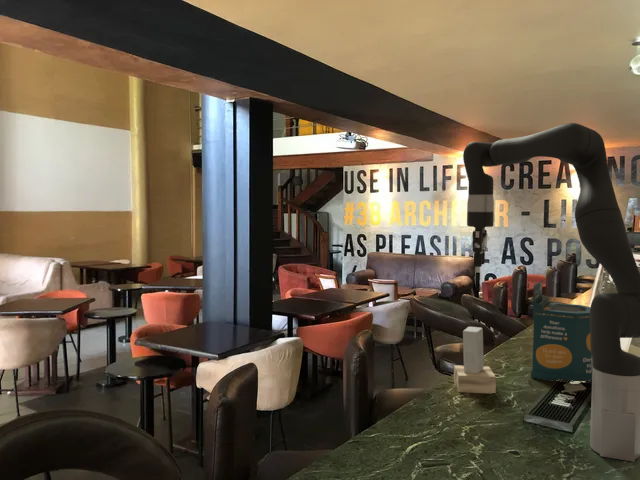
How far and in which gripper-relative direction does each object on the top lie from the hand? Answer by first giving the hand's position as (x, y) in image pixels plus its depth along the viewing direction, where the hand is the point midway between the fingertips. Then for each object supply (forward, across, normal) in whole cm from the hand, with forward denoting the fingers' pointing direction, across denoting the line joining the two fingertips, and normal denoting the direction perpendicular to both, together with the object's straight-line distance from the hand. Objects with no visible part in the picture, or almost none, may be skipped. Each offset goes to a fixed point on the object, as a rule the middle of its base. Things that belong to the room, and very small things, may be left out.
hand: (479, 265), depth 157 cm
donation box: (+34, +14, -24) cm, 44 cm away
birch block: (+34, -8, 0) cm, 35 cm away
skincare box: (+30, -8, 0) cm, 31 cm away
